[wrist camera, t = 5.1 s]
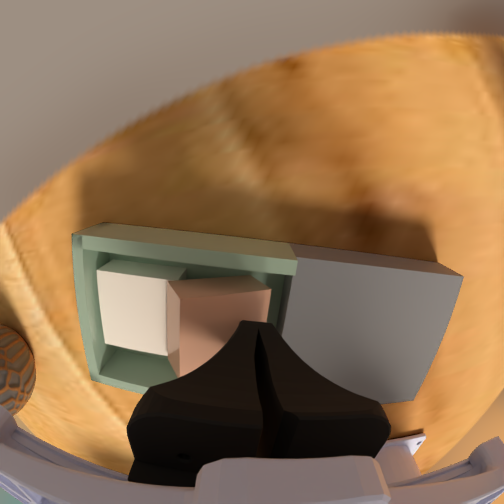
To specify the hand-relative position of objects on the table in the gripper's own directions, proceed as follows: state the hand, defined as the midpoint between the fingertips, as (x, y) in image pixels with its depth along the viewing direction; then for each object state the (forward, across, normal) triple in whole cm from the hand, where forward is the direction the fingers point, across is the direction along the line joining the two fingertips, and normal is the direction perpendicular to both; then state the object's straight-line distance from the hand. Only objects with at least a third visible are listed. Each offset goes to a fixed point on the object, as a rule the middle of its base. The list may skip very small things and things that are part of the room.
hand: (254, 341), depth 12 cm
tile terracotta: (+2, +2, 0) cm, 3 cm away
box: (+3, +4, 0) cm, 5 cm away
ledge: (+3, -6, 0) cm, 6 cm away
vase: (+3, +18, +7) cm, 20 cm away
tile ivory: (+1, +5, 0) cm, 5 cm away
